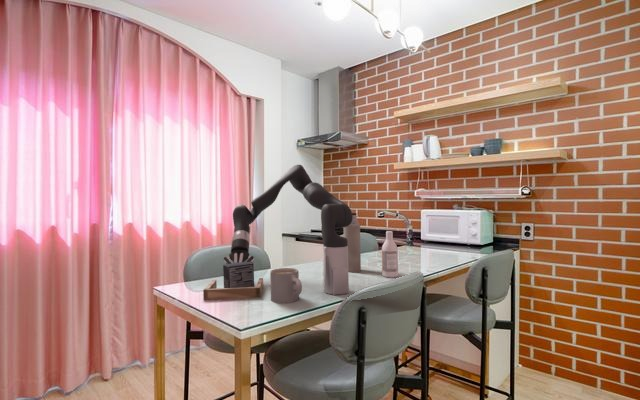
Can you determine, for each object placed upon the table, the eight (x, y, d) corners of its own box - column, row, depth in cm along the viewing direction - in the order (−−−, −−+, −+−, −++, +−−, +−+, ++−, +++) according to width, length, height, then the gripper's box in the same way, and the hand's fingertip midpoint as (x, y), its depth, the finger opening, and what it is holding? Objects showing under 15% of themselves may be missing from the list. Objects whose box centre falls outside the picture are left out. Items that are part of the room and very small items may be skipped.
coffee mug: (266, 298, 126) (265, 270, 126) (290, 293, 131) (290, 266, 131) (283, 307, 115) (282, 276, 115) (309, 301, 120) (308, 272, 120)
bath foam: (384, 273, 162) (383, 230, 162) (399, 275, 159) (398, 230, 159) (380, 277, 155) (379, 231, 155) (396, 278, 152) (395, 232, 152)
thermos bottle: (344, 268, 175) (343, 212, 175) (360, 268, 174) (359, 212, 174) (344, 272, 167) (342, 213, 167) (360, 272, 166) (359, 213, 166)
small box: (248, 286, 143) (247, 260, 143) (255, 289, 138) (254, 263, 138) (223, 290, 137) (222, 263, 137) (229, 294, 132) (228, 266, 132)
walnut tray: (212, 288, 141) (212, 280, 141) (263, 286, 142) (262, 278, 142) (203, 299, 125) (203, 290, 125) (260, 297, 127) (259, 287, 127)
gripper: (256, 247, 157) (254, 281, 144) (226, 248, 155) (221, 283, 143) (255, 237, 151) (252, 271, 139) (224, 238, 150) (218, 273, 138)
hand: (237, 277), depth 141 cm, fingers closed
